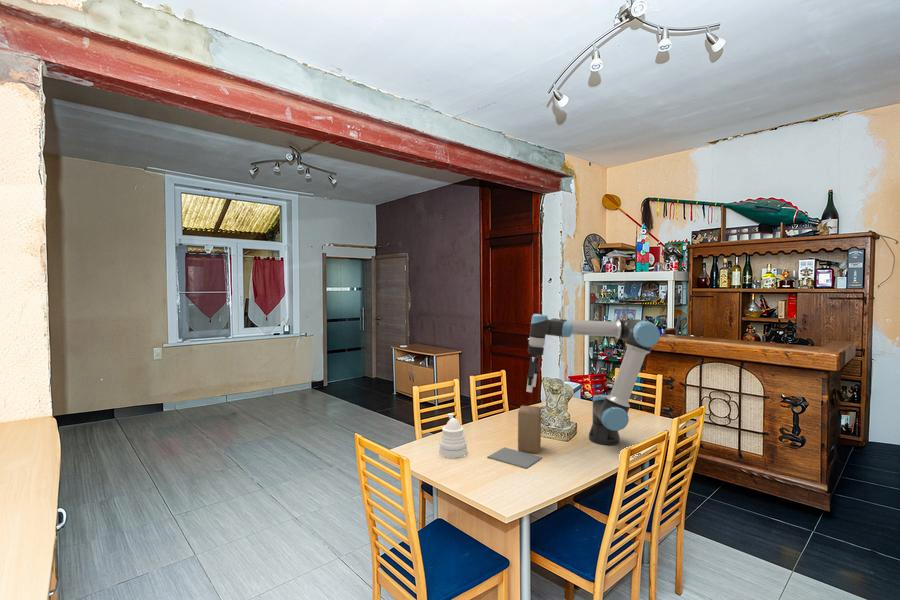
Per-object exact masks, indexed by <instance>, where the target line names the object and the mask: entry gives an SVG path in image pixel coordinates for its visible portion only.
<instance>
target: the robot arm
mask: <svg viewBox="0 0 900 600" xmlns="http://www.w3.org/2000/svg"><path fill="white" fill-rule="evenodd" d="M548 317H549V316H548V315H547V314H541V313H533V315H531V322H530V329H529V338H527V341H528V346H527V353H528V354H529V355H531V356H530V357H529V367H528V373H527V375H526V379H527V383H526V390H525V391H526V392H527V393H533V389H534V388H536V386H537V385H536V384H537V377H538V374H539V361H540V358H539V357H540V356H543V355H544V350H545V348H544V347H545V344H546V336H553V337H560V338H570V337H572V335H574V336H575V335H577V336H592V337H593V336H594V337H596V336H597V337H613V338H616V339H617V340H624V341H625V340H626V341H625V346H626V351H625V352H624V356H623V359H622V362H621V364H620V367H619V370H618V372H617V375H616V377H615V380H614V383H613V386H612V389H611V391H610V394H594V395H593V397H592V401H591V402H592V424H591V427H590V430H589V432H588V439H589V441H590V442H592V443H595V444H599V445H604V446H615V445H618V444H620V442H621V436H620V432H619V431H621V430H624V429H625V428H626V427H627V426H628V424H629V421H630V419H629V414H628V413H629V411H630V407H631V405H630V403H629V402H630V398H631V395H632V392H633V391H634V387H635V386H636V385H635V384H636V381H637V379H638V376H639V373H640V371H641V368H642V366H643V363H644V360H645V357H646V355H648V354H650V353H651V352H652V349H653V347H654V346H655V345H657V343H658V342H659V341H660V338H661V333H660V330H659V328H658V326H657V325H656V324H655V323H652V322H650V321H649V320H645V319H644V320H642V319H637V318H636V319H617V320H616V321H609V320H608V321H607V320H584V319H583V320H581V319H561V318H560V319H559V318H551V319H549V318H548Z"/></svg>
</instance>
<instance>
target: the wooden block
mask: <svg viewBox="0 0 900 600" xmlns="http://www.w3.org/2000/svg"><path fill="white" fill-rule="evenodd" d="M541 432H542V409H541V407H540V406H534V405H532V406H531V405H520V407H519V409H518V411H517V451H521V452H525V453H529V452H530V453H529V454H539V453H540V449H541V446H542V445H541V441H542V439H541V437H542V435H541V434H542V433H541Z"/></svg>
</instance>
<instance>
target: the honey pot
mask: <svg viewBox="0 0 900 600" xmlns="http://www.w3.org/2000/svg"><path fill="white" fill-rule="evenodd" d="M447 417H448V418H449V420H448V421H447V423H446V424H445V425H444V426H443V427H442V428H441V431H442V434H441V437H440V441H439V455H440V454H441V455H442V457H443V456H444V458H446V457H449V458H448V459H458V458H457V457H460V458H463V457H462V456H464V455H465V456H466V455H468V450H467V449H468V442H467V440H466V436H465V433H464V432H463V431H464V428H463V426H461V424H460V422H459V420H458V419H457V418H455V417H454V413H447ZM441 455H440V456H441ZM465 456H464V457H465Z"/></svg>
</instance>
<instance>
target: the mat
mask: <svg viewBox="0 0 900 600" xmlns="http://www.w3.org/2000/svg"><path fill="white" fill-rule="evenodd" d="M487 459H490V460H494V461H496V462H497V461H498V462H500V463H504V464H508V465H511V466H514V467H519V468H522V469H525V470H527V469H529V468H530V467H532V466H534V464H536V463H537V461H538V462H539V461H540V459H541V460H542V459H543V456H540V455H535V454H533V453H529V452H521V451H518V449H517V450H516V449H512V448H508V447H502V448H500V449H499V450H497V451H495V452H493V453H492V454H489V455H488V456H487Z"/></svg>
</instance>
